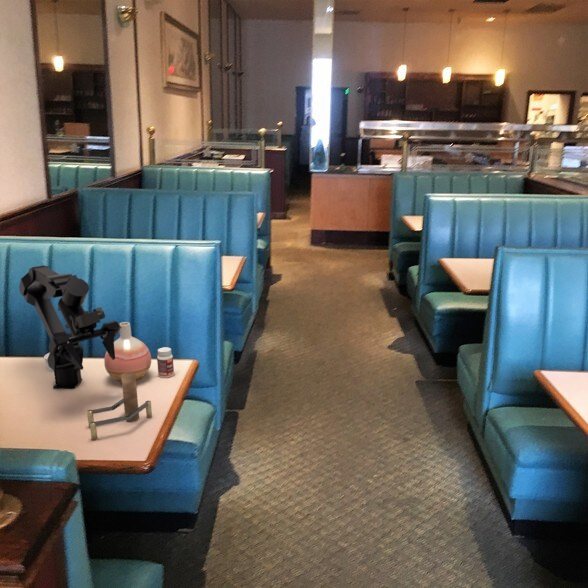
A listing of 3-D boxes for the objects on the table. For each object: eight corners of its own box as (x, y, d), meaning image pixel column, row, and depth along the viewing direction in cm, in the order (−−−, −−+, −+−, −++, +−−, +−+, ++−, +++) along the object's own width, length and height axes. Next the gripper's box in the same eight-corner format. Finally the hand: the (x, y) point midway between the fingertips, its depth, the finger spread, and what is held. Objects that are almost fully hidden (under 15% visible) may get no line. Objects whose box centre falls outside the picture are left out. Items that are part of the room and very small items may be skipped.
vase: (158, 370, 195) (154, 316, 190) (144, 388, 182) (139, 331, 177) (115, 369, 196) (110, 315, 191) (99, 387, 183) (92, 330, 178)
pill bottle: (170, 378, 188) (168, 352, 186) (155, 377, 189) (153, 351, 187) (176, 372, 193) (174, 347, 191) (162, 371, 194) (160, 346, 191)
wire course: (78, 440, 154) (76, 423, 152) (101, 410, 169) (99, 395, 167) (137, 441, 153) (135, 425, 151) (155, 411, 168) (153, 396, 166)
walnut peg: (125, 422, 162) (120, 378, 158) (125, 416, 165) (121, 372, 162) (138, 421, 163) (135, 377, 159) (139, 415, 166) (135, 371, 162)
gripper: (48, 307, 158) (73, 359, 154) (114, 292, 171) (139, 340, 166) (38, 329, 166) (62, 379, 161) (102, 313, 178) (126, 359, 174)
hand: (98, 364), depth 166 cm, fingers open, 9 cm apart
